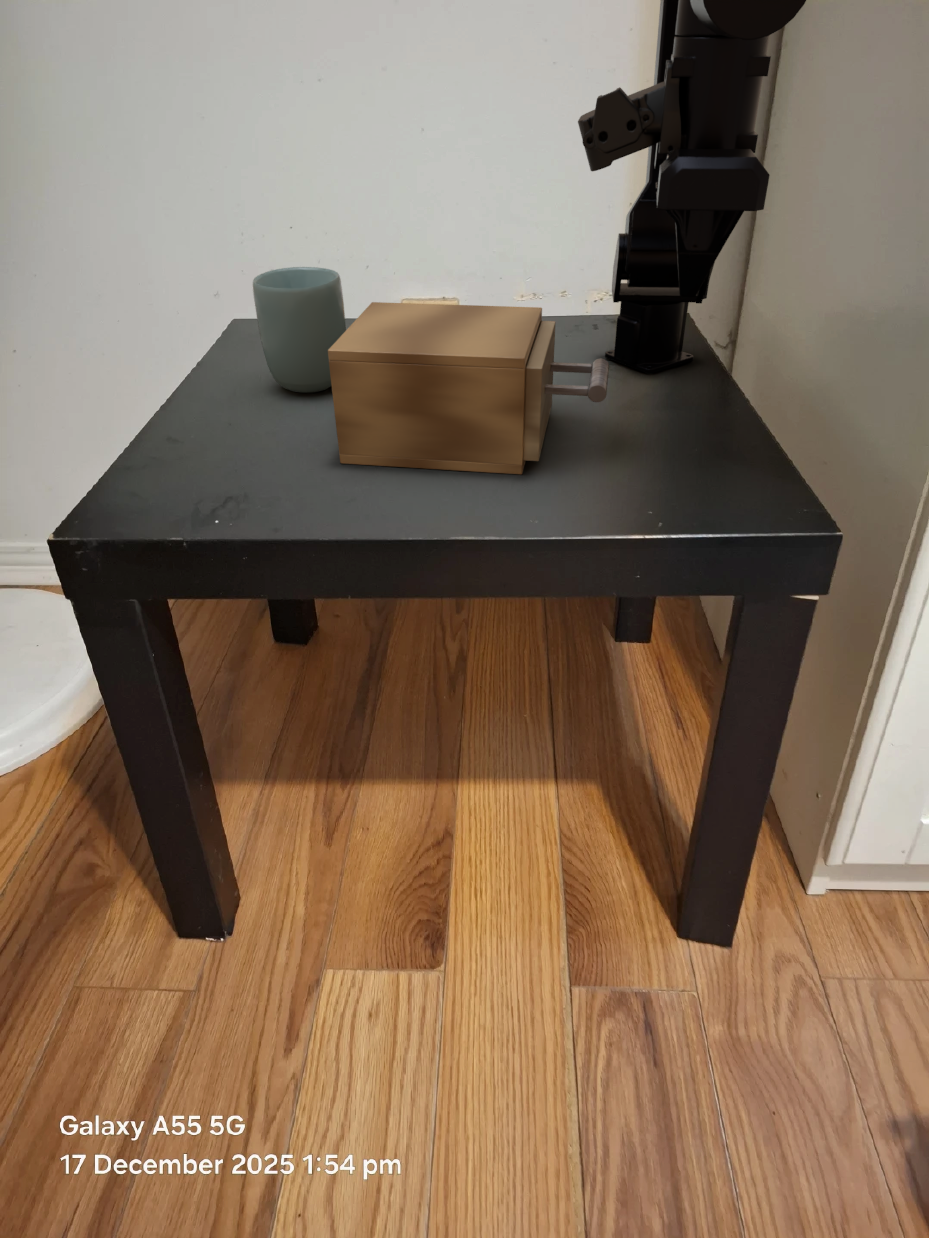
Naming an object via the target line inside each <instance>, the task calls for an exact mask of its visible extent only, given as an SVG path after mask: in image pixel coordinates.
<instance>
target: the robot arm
mask: <svg viewBox="0 0 929 1238" xmlns="http://www.w3.org/2000/svg"><path fill="white" fill-rule="evenodd" d="M659 2H660V4H659V14H658V15H659V17H658V27H657V40H656V53H655V62H654V63H655V65H654V77H653V85H651V86H648V87H646V88H644V89H641V90H639V91H638V90H637V91H636V92H633V93H631V94H629V95H628V94H627V93H626V91H624V90H623V88H621V86H620V87H616V89H614V90H612V91H611V92H608V93H606V94H603V95H602V94H601V95H598V96H597V98H596V103H595V108H594V109H592V110H590V111H588V112H586V113H584V114H582V115H581V116H580V117H579V119H578V120H577V124H578V128H579V132H580V136H581V139H582V145H583V148H584V152H585V155H586V158H587V162H588V166H589V170H590V172H596V171H597V172H598V171H601V170H602V169H606V168H608V167H610V166H611V165H612V164H613V162H614V161H617V160H619V159H622V158H625V157H627V156H630V155H633V154H634V153H637V152H640V151H642V150H645V149H648V151H647V162H646V164H647V165H646V174H645V184H644V185H643V188H642V189H641V191H640V193H639V194H638V196H637V197H636V199H635V200H634V202H633V204H632V205H631V207H630V209H629V211H628V212H627V213H626V216H625V227H624V233H623V232H622V233H621V232H620V233H618V234H617V241H616V247H615V253H614V260H613V265H612V266H613V267H612V279H611V280H612V281H611V295H612V303H620V306H619V315H618V316H617V318H616V329H615V339H614V340H615V341H614V348H613V349H611V350H607V351H605V352H604V357H605V358H606V359H609V360H611V361H614V362H616V363H619V364H621V365H624V366H627V367H629V368H632V369H634V370H637V371H639V372H642V373H645V374H653V373H657V372H660V371H664V370H666V369H667V370H668V369H670V368H673V367H676V366H680V365H683V364H688V363H691V362H693V361H694V355H693V354H691V353H688V352H686V351H683V348H684V341H685V340H684V339H685V333H686V332H685V331H686V325H687V318H688V312H689V311H688V309H689V303H695V304H703V300H705V299H707V298H708V293H709V285H710V280H711V277H712V273H713V270H714V266H715V263H716V261H717V258H718V257H719V255H720V253H721V251H722V250H723V248H724V247H725V244H726V243H727V241H728V240H729V238H730V236H731V234H732V233H733V231H734V230H735V228H736V226H737V225H738V223H739V222H740V219H741V217H742V216H743V214H744V212H759V211H763V210H764V209H765V204H766V199H767V192H768V186H769V181H770V176H771V175H770V173H769V172H768V170H767V169H766V168H765V166H764V165H763V164H762V163H761V161H760V160H759V158H758V157H757V155H755V154H756V150H757V142H758V138H759V134H758V133H757V132H756V130H755V128H756V123H757V117H758V110H759V105H760V99H761V98H760V97H761V93H762V86H763V80H764V77H768V75H769V70H770V65H771V56H770V55H768V48H769V42H770V37H771V35H773V34H775V33H776V32H778V31H780V30H782V29H783V28H784V27H785V26H787V24H789V23H790V22H791V21H792V20H793V19H794V18H795V17H796V16H797V15H798V13H799V12H800V11H801V9H802V8H803V7H804V5H805V4H806V2H807V0H660V1H659ZM622 281H626V282H622Z"/></svg>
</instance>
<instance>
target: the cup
mask: <svg viewBox="0 0 929 1238" xmlns="http://www.w3.org/2000/svg"><path fill="white" fill-rule="evenodd" d="M251 286H252V287H251V288H252V295H253V302H254V307H255V308H254V309H255V315H256V320H257V325H258V326H257V327H258V332H259V337H260V342H261V346H262V351H263V354H264V355H263V356H264V359H265V361H266V365H267V368H268V370H269V373H270V374H271V376H272V378H273V379H274V380H275V382H276V383H277V384H278V385H279V386H281V387H282V388H284V389H285V390H287V391H292V392H296V393H302V394H309V393H310V394H312V393H318V392H322V391H325V390H328V389H329V388H332V385H331V376H330V367H329V357H328V350H329V348H330V347H331V346H332V345H333V344H334V343H335V342H336V341H337V340H338V339H339V338H340V336H341V335H342V334H343V333H344V332H345V331H346V330H347V327H346V326H347V325H346V314H345V303H344V293H343V284H342V278H341V276H340V273H338V271H336V270H333V269H329V268H326V267H325V268H324V267H318V266H317V267H315V266H293V267H292V266H291V267H282V268H277V269H272V270H268V271H265V272H263V273H260V274H258V275H256V276H255V277H254V278H253V279H252V284H251Z"/></svg>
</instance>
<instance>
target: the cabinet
mask: <svg viewBox="0 0 929 1238" xmlns="http://www.w3.org/2000/svg"><path fill="white" fill-rule="evenodd" d="M542 317H543V308H542V307H541V306H540V307H539V306H535V307H534V306H507V305H505V306H504V305H472V304H445V303H444V304H440V303H413V302H412V303H411V302H409V303H408V302H381V301H379V302H377V301H372V302H370V304H369V305H368V306H367V307H366V308H365V309H364V310H363V311H362V312H361V314H360V315H358V316H357V318H356V319H355V320H354V321H353V322H352V323H351V324H350V325H349V326H348V328H346V331H345V332H344V333H343V334H342V335H341V336H340V338H339V339H338V340H337V341H336V342H335V343H334V344H333V345H332V346H331V347H330V348H329V350H328V357H329V367H330V376H331V385H332V386H331V392H332V401H333V409H334V419H335V428H336V435H337V436H336V437H337V445H338V455H339V463H340V464H343V465H344V464H347V465H363V466H379V467H394V468H395V467H397V468H411V469H424V470H425V469H429V470H441V471H443V470H444V471H460V472H474V473H490V474H491V473H492V474H493V473H494V474H507V475H523V472H524V469H525V465H526V461H527V460H523V453H524V414H525V375H526V366H527V363H528V360H529V357H530V354H531V351H532V348H533V345H534V342H535V339H536V336H537V333H538V330H539V326H540V323H541V321H543V318H542Z"/></svg>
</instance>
